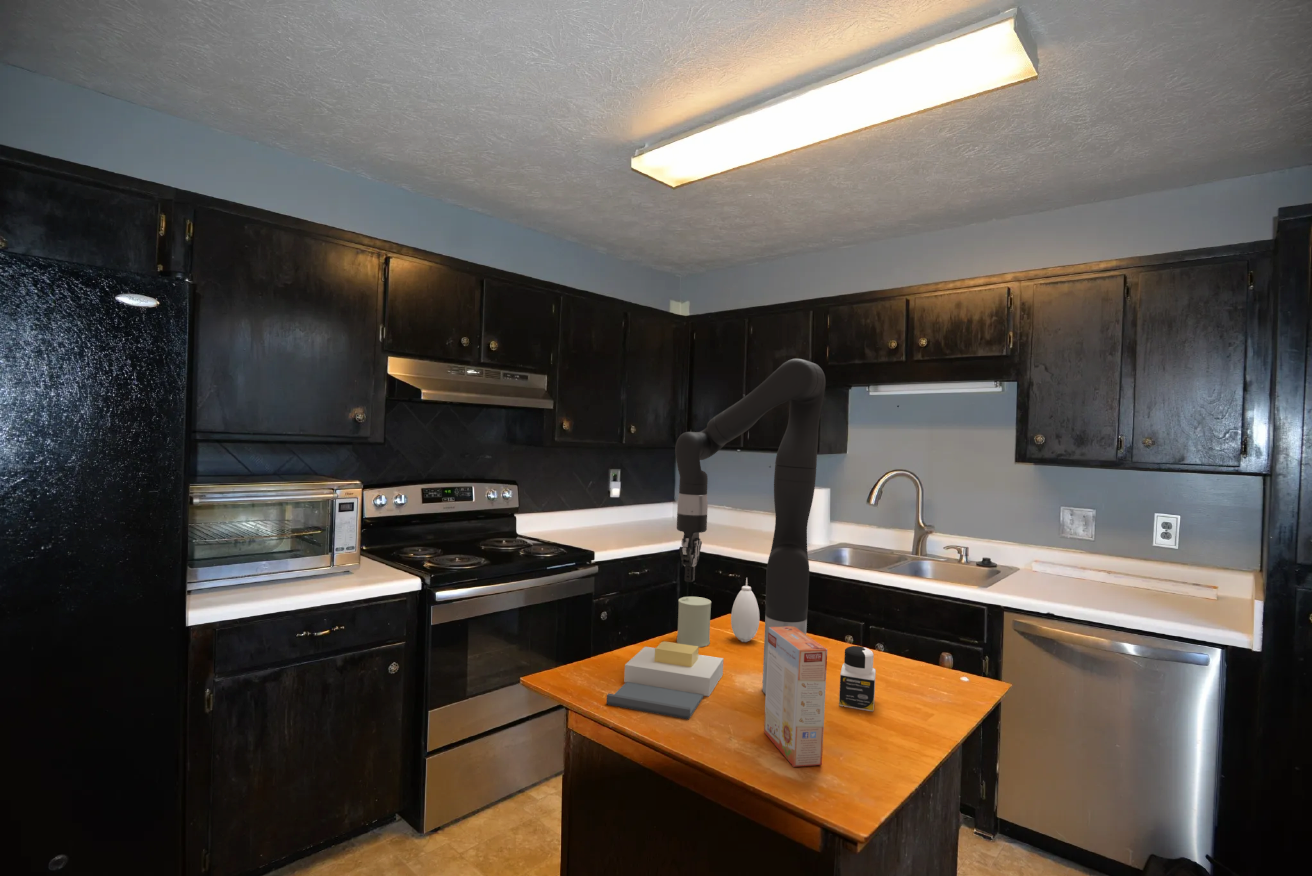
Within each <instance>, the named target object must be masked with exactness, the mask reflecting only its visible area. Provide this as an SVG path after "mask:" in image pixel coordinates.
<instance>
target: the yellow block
mask: <svg viewBox="0 0 1312 876" xmlns="http://www.w3.org/2000/svg"><path fill="white" fill-rule="evenodd" d="M654 648H655V662H662V663H668V664H674V665H681V666H687V667H692V666H693V665H694V663H695V662H696V661H697V660H698V655H699V649H700V647H699V646H692V645H686V644H679V643H677V642H671V641H665V640H664V641H661V642H660V643H659V644H658V646H656V647H654Z"/></svg>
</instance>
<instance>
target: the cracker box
mask: <svg viewBox="0 0 1312 876" xmlns="http://www.w3.org/2000/svg"><path fill="white" fill-rule="evenodd" d="M827 665H828V648H826V647H825V646H823V645H822V644H820V643H819V642H817V641H816V640H815V639H813V638H812V637H810V636H808V635H807V633H806V634H804V633H803V632H801V631H800V630H799V629H797V628H796V627H792V626H786V627H769V633H768V656H767V677H766V694H765V702H764V703H765V704H764V721H763V723H764V725H763V732H764V733H763V734H765V735H766V736H767V737H768V738H769V740H770V741H771V742H772V744H773V745H774V746H775V747H776V749H778V751H779V752H780V753H781V755H783V757H784V758H786V760H787V761H788V762H789V763H790V765H791V766H792V767H793V768H796V767H811V766H813V767H814V766H822V765H823V751H824V750H823V748H824V731H825V728H824V727H825V711H826V710H825V708H826V707H825V706H826V704H825V703H826V686H827V685H826V684H827V682H826V681H827V667H828V666H827Z"/></svg>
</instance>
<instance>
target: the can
mask: <svg viewBox="0 0 1312 876" xmlns="http://www.w3.org/2000/svg"><path fill="white" fill-rule="evenodd" d="M677 602H678V611H677V612H678V614H677V615H678V616H677V617H678V618H677V635H676V643H679V644H686V645H692V646H699V648H703V647H707V646H709V645H710V643H711V641H710V635H711V634H710V633H711V631H710V630H711V629H710V628H711V608H712V601H711V600H710V599H708V598H705V597H699V596H683V597H680V598H678V601H677Z"/></svg>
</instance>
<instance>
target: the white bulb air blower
mask: <svg viewBox="0 0 1312 876" xmlns="http://www.w3.org/2000/svg"><path fill="white" fill-rule="evenodd" d="M745 579H746V580H745V585H743V586H741V590H740V591H739V592H738V593H737V595H736V597H735V600H734V601H733V605H732V608H731V616H730V625H731V629H732V633H733V635H734V636H735V637H736V638H737V639H738V640H739V641H740V642H741V643H748V642H750V641H751V640H752V639H754V637H756V634H757V632H758V630H759V626H760V609H759V605H758V600H757V598H756V595H755V594H754V592H753V591H752V587H751V586H749V585H748V577H746V578H745Z"/></svg>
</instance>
